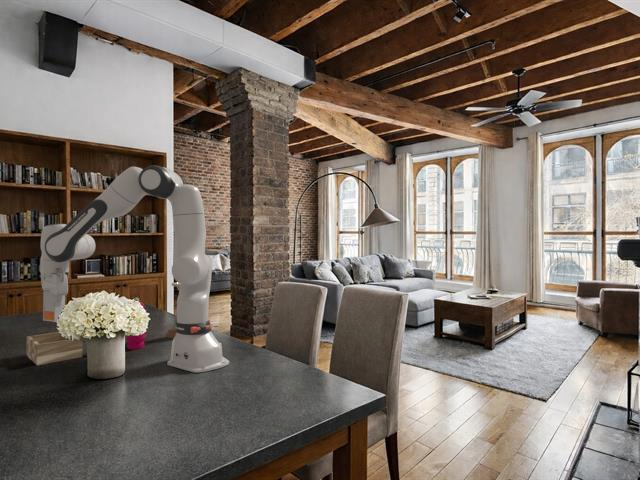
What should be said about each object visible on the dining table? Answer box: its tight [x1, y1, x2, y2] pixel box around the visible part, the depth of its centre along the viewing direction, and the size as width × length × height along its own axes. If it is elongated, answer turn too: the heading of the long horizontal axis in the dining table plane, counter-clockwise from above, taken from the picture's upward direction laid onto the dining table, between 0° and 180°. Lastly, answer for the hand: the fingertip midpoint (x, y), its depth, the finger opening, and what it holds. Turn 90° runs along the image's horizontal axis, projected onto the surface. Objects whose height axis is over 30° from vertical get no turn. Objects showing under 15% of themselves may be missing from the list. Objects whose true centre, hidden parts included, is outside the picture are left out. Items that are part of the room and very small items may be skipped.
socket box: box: [25, 331, 84, 366], centre depth 148 cm, size 16×14×7 cm
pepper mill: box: [125, 297, 147, 350], centre depth 161 cm, size 7×7×20 cm
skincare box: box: [42, 288, 66, 323], centre depth 148 cm, size 6×4×12 cm
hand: (54, 305), depth 148 cm, fingers closed on skincare box, 7 cm apart
